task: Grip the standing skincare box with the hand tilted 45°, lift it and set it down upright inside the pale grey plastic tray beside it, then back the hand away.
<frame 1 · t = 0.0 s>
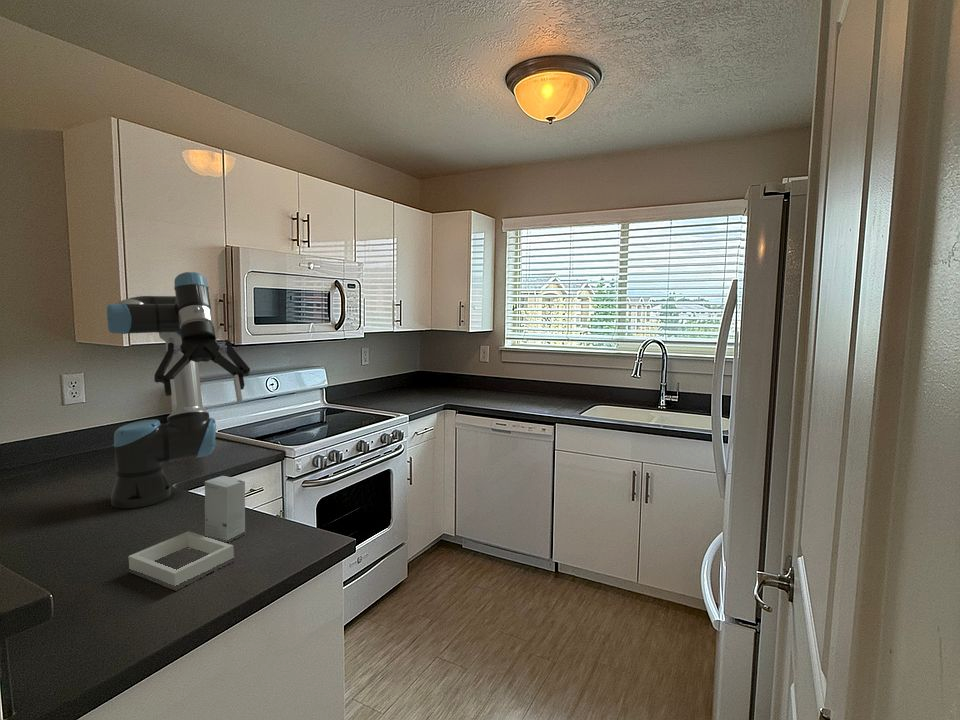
hand: (208, 404, 122), 36 cm above the worktop, tool tilted 35°, fingers open, 13 cm apart
tray: (183, 567, 118), on the worktop
skincare box: (226, 537, 134), on the worktop
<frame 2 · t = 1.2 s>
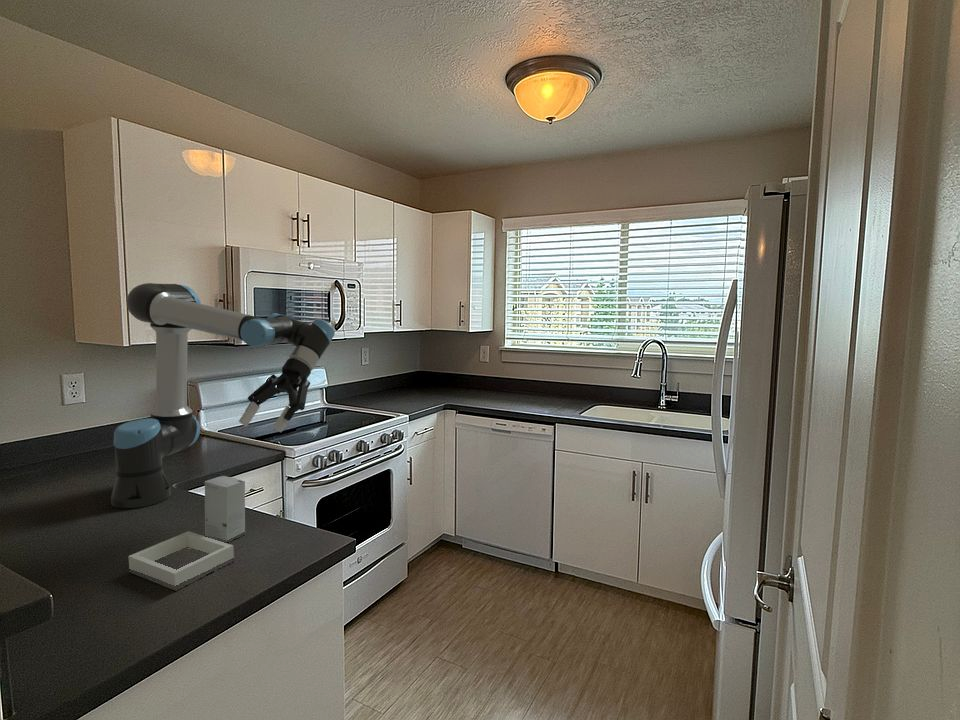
hand: (259, 426, 141), 26 cm above the worktop, tool tilted 45°, fingers open, 13 cm apart
nothing on the worktop moved.
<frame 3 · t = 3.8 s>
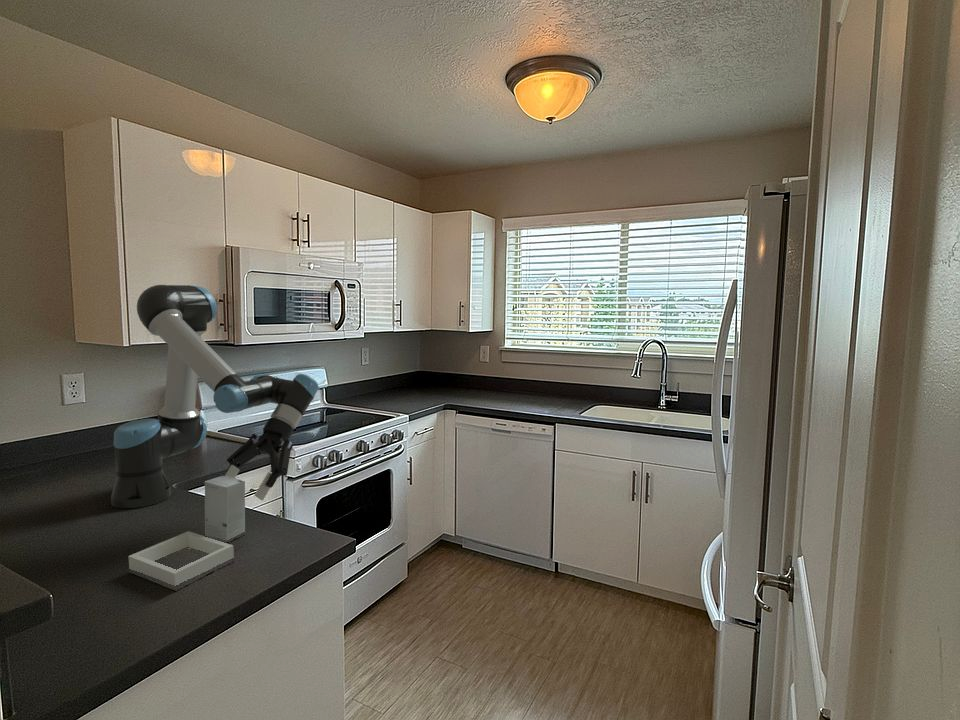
hand: (239, 493, 135), 10 cm above the worktop, tool tilted 45°, fingers open, 13 cm apart
nothing on the worktop moved.
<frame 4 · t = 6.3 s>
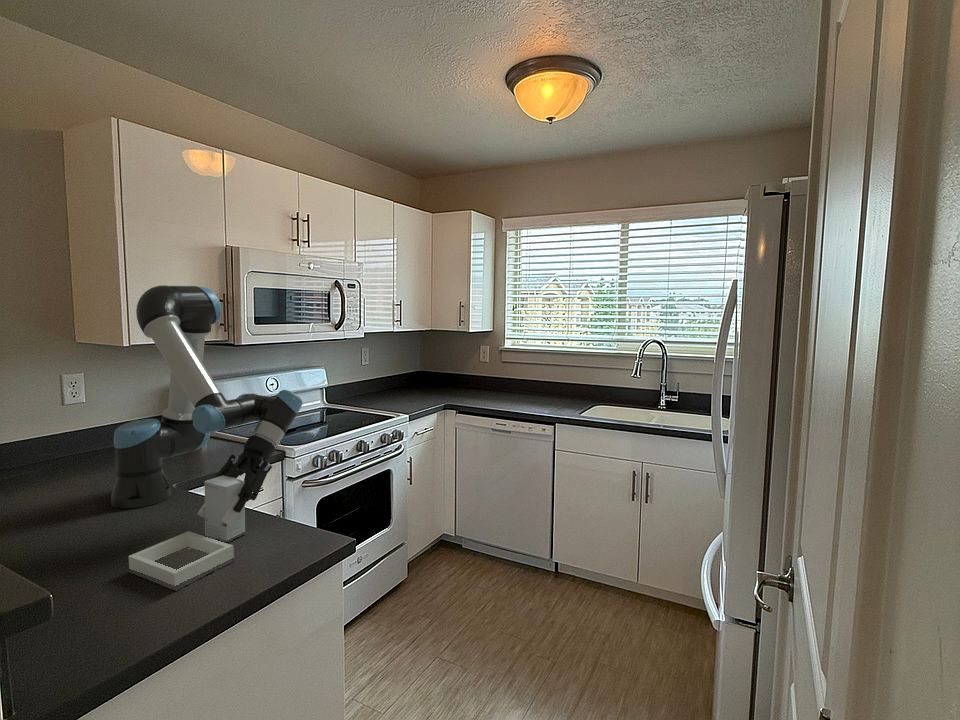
hand: (213, 519, 130), 6 cm above the worktop, tool tilted 45°, fingers closed on skincare box, 8 cm apart
skincare box: (226, 536, 134), on the worktop, touching gripper
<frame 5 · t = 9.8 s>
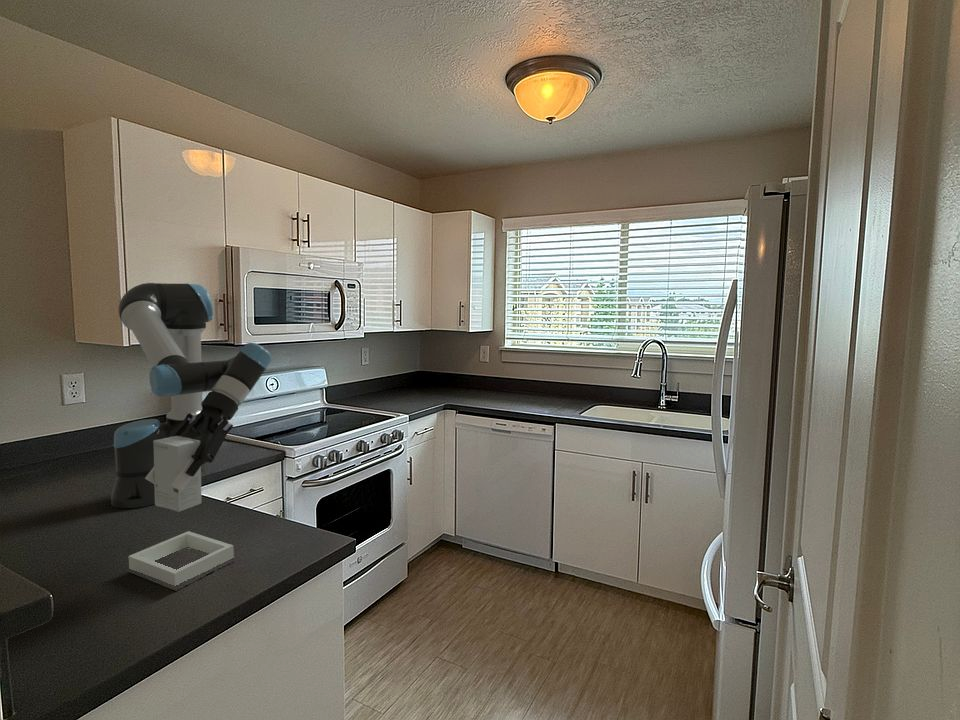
hand: (163, 484, 113), 20 cm above the worktop, tool tilted 45°, fingers closed on skincare box, 8 cm apart
skincare box: (179, 505, 116), point 15 cm above the worktop, touching gripper
when the fingers open (8 cm above the worktop, at t = 13.4 s): skincare box drops 2 cm, resting on tray.
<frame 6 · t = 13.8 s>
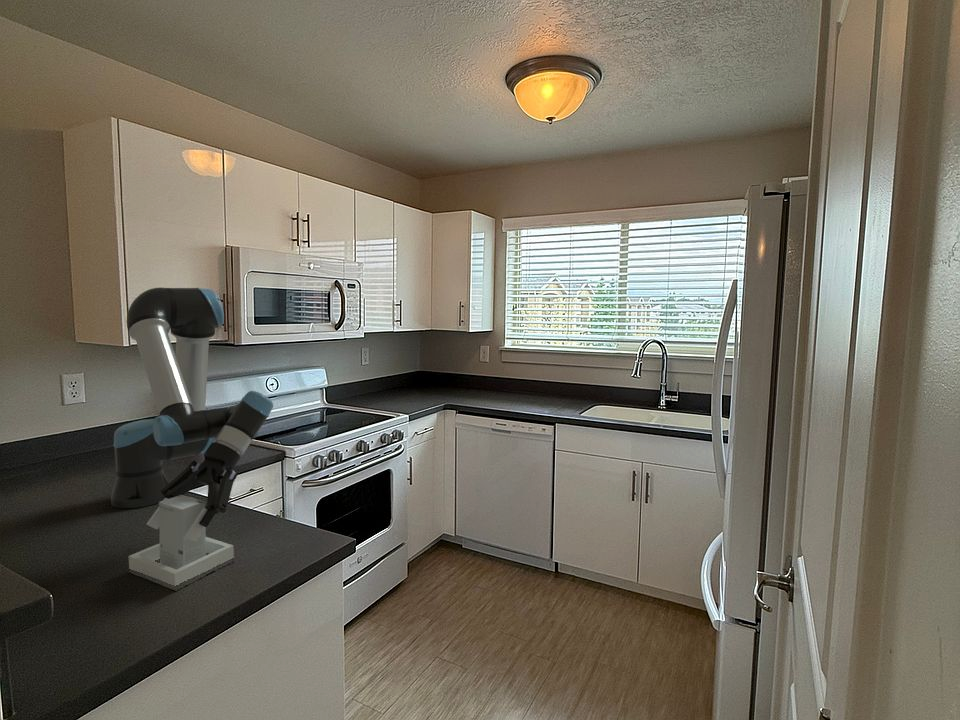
hand: (170, 533, 115), 9 cm above the worktop, tool tilted 45°, fingers open, 13 cm apart
skincare box: (184, 565, 118), point 1 cm above the worktop, touching tray
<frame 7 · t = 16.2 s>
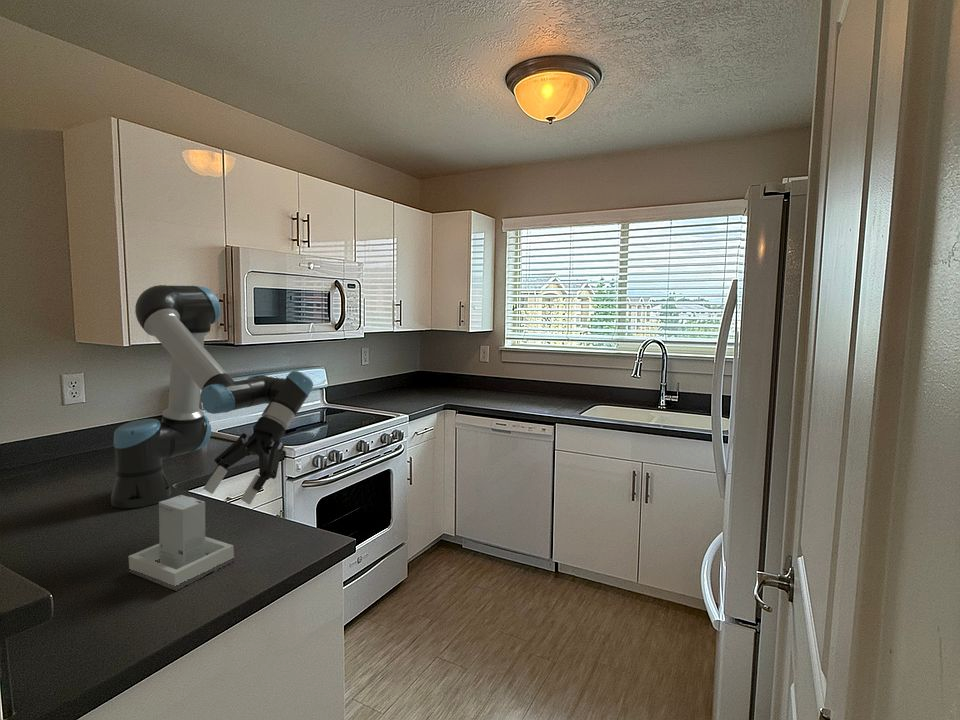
hand: (226, 496, 127), 12 cm above the worktop, tool tilted 45°, fingers open, 13 cm apart
nothing on the worktop moved.
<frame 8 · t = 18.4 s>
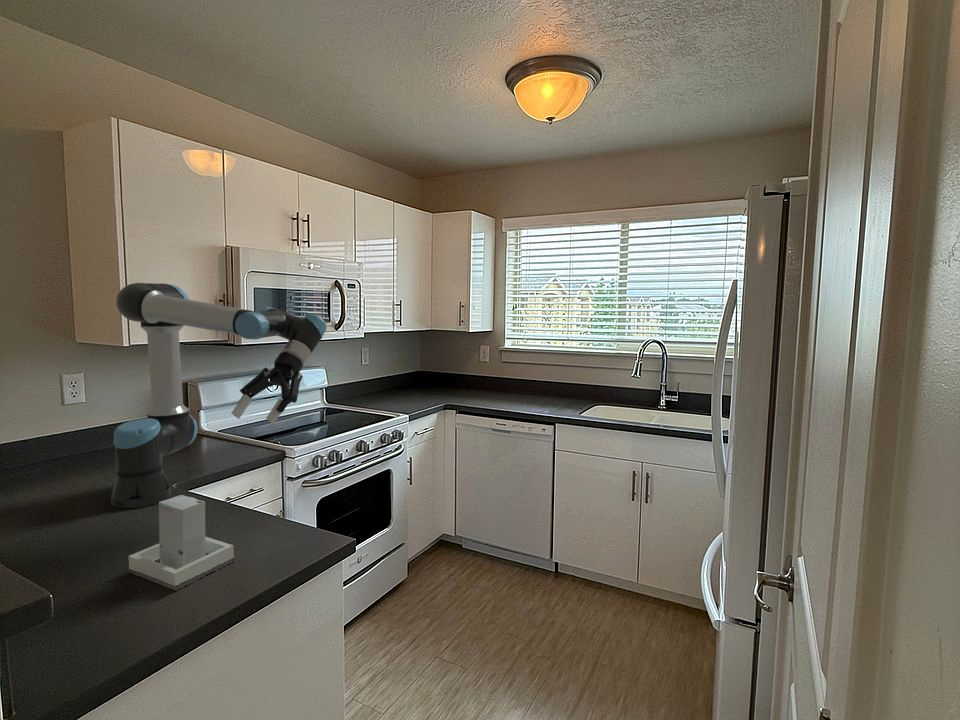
hand: (252, 418, 143), 28 cm above the worktop, tool tilted 45°, fingers open, 13 cm apart
nothing on the worktop moved.
at the end: skincare box inside the target area on the tray (0.3 cm from its centre), point 0.6 cm above the tray's base; skincare box tilted 0°; the gripper is holding nothing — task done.
